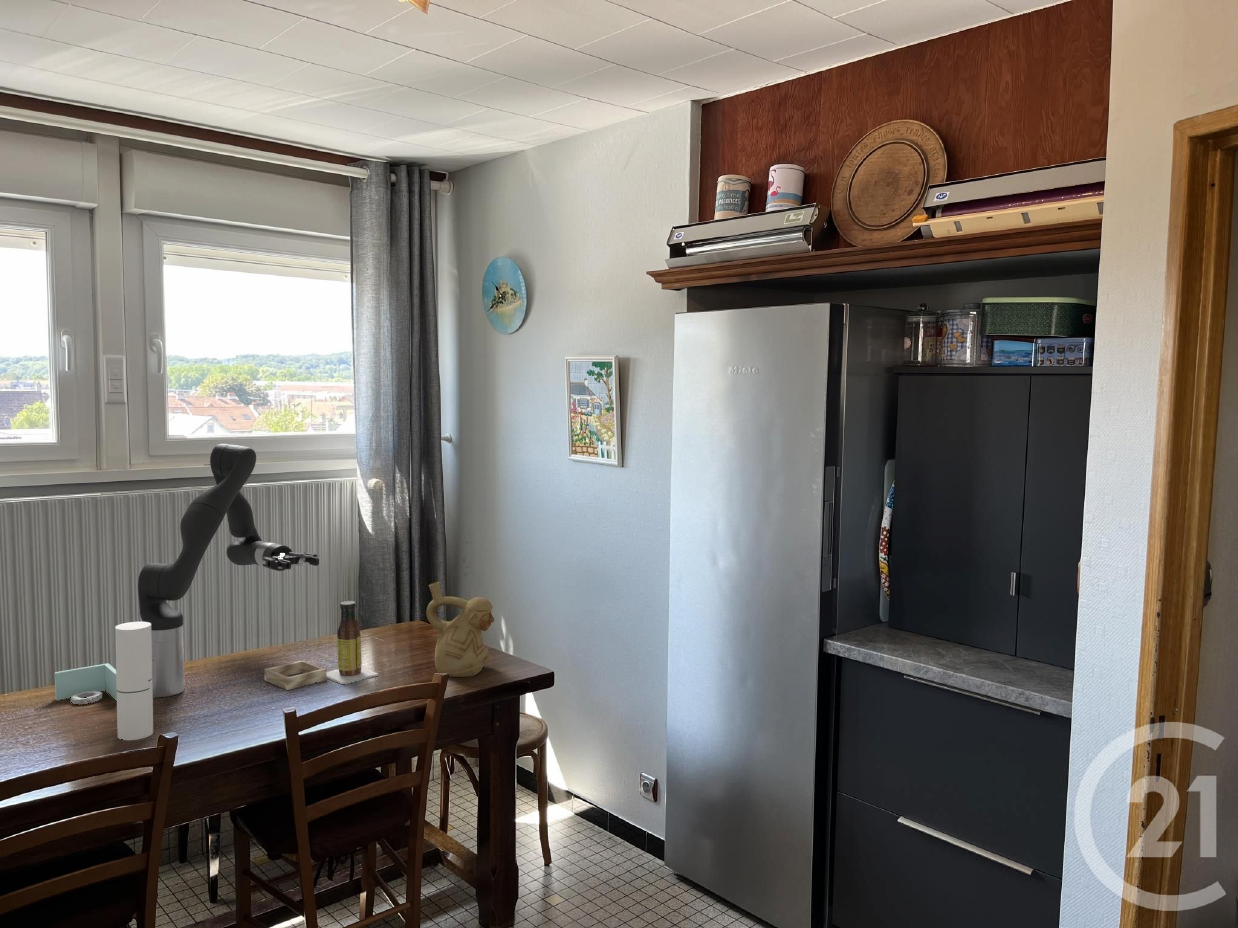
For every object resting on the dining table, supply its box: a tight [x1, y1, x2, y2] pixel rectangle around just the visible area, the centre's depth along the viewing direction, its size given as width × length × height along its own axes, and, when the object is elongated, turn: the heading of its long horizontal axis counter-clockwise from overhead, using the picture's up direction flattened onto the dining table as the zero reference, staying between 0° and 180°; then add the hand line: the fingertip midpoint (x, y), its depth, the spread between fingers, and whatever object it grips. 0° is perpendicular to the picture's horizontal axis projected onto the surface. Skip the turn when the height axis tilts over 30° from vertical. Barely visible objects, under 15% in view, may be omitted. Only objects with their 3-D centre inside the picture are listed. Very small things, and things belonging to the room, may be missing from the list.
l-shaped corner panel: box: [54, 663, 117, 706], centre depth 230 cm, size 12×12×8 cm
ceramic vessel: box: [425, 581, 495, 678], centre depth 260 cm, size 17×20×25 cm
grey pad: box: [326, 666, 379, 685], centre depth 254 cm, size 11×11×1 cm
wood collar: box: [263, 659, 327, 691], centre depth 249 cm, size 12×12×3 cm
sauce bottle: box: [336, 600, 363, 676], centre depth 253 cm, size 7×6×20 cm
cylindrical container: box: [114, 621, 154, 741], centre depth 208 cm, size 7×7×25 cm
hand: (304, 563), depth 259 cm, fingers open, 8 cm apart
